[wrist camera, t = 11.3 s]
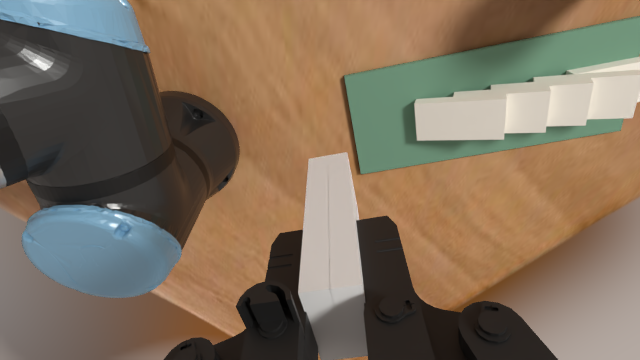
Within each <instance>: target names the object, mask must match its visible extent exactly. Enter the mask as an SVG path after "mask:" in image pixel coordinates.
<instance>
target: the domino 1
mask: <svg viewBox="0 0 640 360" xmlns="http://www.w3.org/2000/svg"><path fill="white" fill-rule="evenodd" d="M506 102H507V96H506V94H492V95H475V96H458V97H441V98H424V99H416V101H415V103H414V107H415V121H416V134H417V141H426V140H504V133H505V117H506Z"/></svg>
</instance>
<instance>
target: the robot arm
mask: <svg viewBox="0 0 640 360" xmlns="http://www.w3.org/2000/svg"><path fill="white" fill-rule="evenodd" d="M148 53H150V50H149V48H148V46H146V45H145V43H144V40H143V37H142V34H141V31H140V28H139V25H138V22H137V19H136V15H135V12H134V10H133V8H132V6H131V5H130V3H129V2H128V1H127V0H0V188H4V187H6V186H9V185H12V184H14V183H17V182H20V181H22V180H25V179H26V181H27V183H28V184H29V186H30V188H31V190H32V192H33V194H34V195H35V197H36V199H37V201H38V203H39V205H40V208H41V210H40V211H37V212H36V213H35V214H33V215H32V216H31V217H30V218H29V220H28V222H27V226H26V229H25V231H24V232H23V234H22V246H23V248H24V252H25V254H26V255H27V257H28V258H29V260H30V261H31V262H32V263H33V265H34V266H35V267H36V268H37V269H39V270H40V271H41V272H42V273H43V274H45V275H46V276H48V277H50V278H51V279H52V280H54V281H56V282H58V283H60V284H62V285H64V286H66V287H68V288H72V289H75V290H77V291H79V292H83V293H86V294H90V295H94V296H100V297H109V298H125V297H133V296H138V295H141V294H145V293H147V292H149V291H151V290H153V289H155V288H156V287H158V285H160V284H161V283H162V282H163V281H164V280H165V279H166V278H167V276H168V275H169V273H170V272H171V270H172V269H173V267H174V265H175V264H176V263H177V262H178V261H179V259H180V257H181V255H182V254H181V252H182V249H183V247H184V245H185V243H186V241H187V239H188V237H189V235H190V232H191V230H192V228H193V226H194V224H195V222H196V220H197V218H198V216H199V214H200V212H201V209H202V207H203V205H204V203H205V201H206V200H207V199H209V198H210V197H212V196H213V195H214V194H216V193H217V192H219V191H220V190H221V189H222V188H224V187H225V186H226V184H227V183H228V182H229V181H230V179H231V178H232V176H233V174H234V171H235V169H236V167H237V164H238V160H239V142H238V138H237V135H236V133H235V130H234V128H233V127H232V125H231V123H230V122H229V120H228V119H227V118H226V117H225V115H224V114H223V113H222V112H221V111H220V110H219V109H217V108H216V107H215V106H214V105H212V104H211V103H209V102H208V101H206V100H204V99H202V98H200V97H198V96H195V95H192V94H189V93H184V92H178V91H166V92H160V93H159V90H158V86H157V83H156V79H155V75H154V72H153V68H152V64H151V61H150V57H149V54H148ZM236 308H237V310H238V312H239V314H240V316H241V318H242V320H243V322H244V324H245V326H246V328H247V329H245V330H244V331H243V332H241V333H240V334H238V335H236V336H234V337H232V338H230V339H227V340H225V341H222V342H220V343H218V344H215V345H212V343H211V342H210V341H209V340H207V339H204V338H191V339H189V340H186V341H184V342H182V343H180V344H179V345H177V346H176V347H175V348H174V349H172V350H171V351H170V352H169V354H168V355H167V356H166V358H165V359H164V360H318V352H319V355H320V358H321V360H335V359H344V358H353V357H362V356H368V360H558V359H557V358H556V357H555V356H554V355H553V353H552V352H551V351H550V350H549V349H548V348H547V346H546V345H545V344H544V343H543V342H542V341H541V340H540V338H539V337H538V336H537V335H536V334H535V333H534V332H533V331H532V329H531V328H530V327H529V326H528V325H527V323H526V322H525V321H524V320H523V319H522V318H521V317H520V316H519V315H518V314H517V313H516V312H514V311H513V310H512V309H511V308H509V307H506V306H504V305H502V304H500V303H496V302H489V301H482V302H476V303H472V304H471V305H469V306H467V307H466V308H464V310H463V311H462V313H460V312H454V311H448V310H442V309H439V308H435V307H433V306H431V305H428V304H427V303H425V302H424V301H423V300H421V299H420V298H419V297H418V295H417V294H416V293H415V291H414V288H413V286H412V282H411V278H410V274H409V270H408V267H407V263H406V259H405V255H404V252H403V248H402V244H401V240H400V236H399V233H398V229H397V225H396V224H395V223H394V222H393V221H392V220H391V219H390V218H389V217H388V216H382V217H376V218H369V219H363V220H359V215H358V208H357V202H356V197H355V192H354V186H353V181H352V176H351V170H350V165H349V160H348V154H347V152H345V153H340V154H334V155H328V156H323V157H317V158H311V159H309V163H308V176H307V188H306V200H305V213H304V225H303V230H298V231H291V232H285V233H280V234H279V235H278V237H277V238H276V239H275V241H274V242H273V244H272V246H271V252H270V260H269V263H268V270H267V273H266V279H265V282H262V283H258V284H256V285H254V286H253V287H251V288H249V289H248V290H247V291H246V292H245V293H244V294H243V295H242V296H241V297H240V299H239V301H238V303H237V305H236Z"/></svg>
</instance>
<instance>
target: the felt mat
mask: <svg viewBox="0 0 640 360" xmlns="http://www.w3.org/2000/svg"><path fill="white" fill-rule="evenodd" d="M639 54H640V16H637V17H632V18H627V19H622V20H617V21H612V22H607V23H602V24H597V25H592V26H587V27H582V28H577V29H572V30H567V31H562V32H557V33H552V34H547V35H542V36H537V37H532V38H528V39H523V40H518V41H513V42H508V43H503V44H498V45H493V46H488V47H483V48H478V49H473V50H468V51H463V52H458V53H453V54H448V55H443V56H438V57H433V58H428V59H423V60H418V61H413V62H408V63H403V64H398V65H393V66H389V67H384V68H379V69H374V70H369V71H364V72H359V73H354V74H349V75H344V78H345V84H346V90H347V95H348V101H349V107H350V113H351V119H352V125H353V130H354V136H355V142H356V148H357V154H358V160H359V166H360V171H361V174H366V173H372V172H378V171H383V170H389V169H395V168H401V167H407V166H413V165H419V164H425V163H431V162H437V161H443V160H449V159H455V158H461V157H467V156H472V155H478V154H484V153H490V152H496V151H502V150H508V149H514V148H520V147H526V146H532V145H538V144H544V143H550V142H556V141H561V140H567V139H573V138H579V137H585V136H591V135H597V134H603V133H609V132H615V131H621V127H622V123H623V119H624V118H619V119H587V121H586V126H546V133H504V140H426V141H417V134H416V121H415V107H414V103H415V101H416V99H424V98H441V97H453V95H454V92H460V91H476V90H491V85H495V84H510V83H525V82H533V77H543V76H557V75H566V70H572V69H577V68H582V67H588V66H593V65H598V64H603V63H609V62H614V61H619V60H625V59H630V58H635V57H639Z"/></svg>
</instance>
